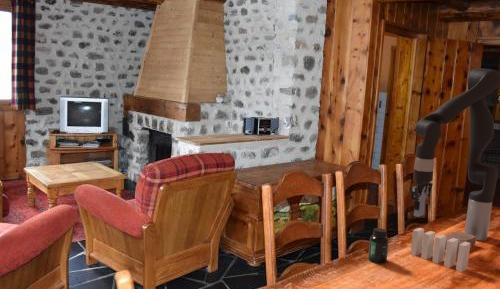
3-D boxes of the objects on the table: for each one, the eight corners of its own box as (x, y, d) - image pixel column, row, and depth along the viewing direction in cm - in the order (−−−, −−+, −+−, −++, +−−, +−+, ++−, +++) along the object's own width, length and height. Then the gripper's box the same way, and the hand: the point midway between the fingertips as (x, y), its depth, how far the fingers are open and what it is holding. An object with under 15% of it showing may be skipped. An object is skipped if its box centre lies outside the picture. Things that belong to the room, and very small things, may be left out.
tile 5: (449, 262, 172) (453, 237, 170) (455, 264, 170) (458, 239, 169) (443, 266, 169) (447, 240, 167) (449, 267, 167) (452, 242, 166)
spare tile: (419, 213, 191) (422, 190, 189) (424, 214, 189) (426, 191, 188) (413, 215, 187) (416, 192, 186) (418, 217, 186) (420, 193, 184)
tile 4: (438, 258, 175) (441, 234, 174) (443, 260, 174) (446, 235, 172) (432, 261, 172) (435, 236, 170) (437, 263, 170) (440, 238, 169)
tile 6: (461, 266, 169) (465, 241, 167) (467, 268, 167) (470, 243, 166) (455, 270, 165) (459, 244, 164) (461, 272, 164) (464, 246, 162)
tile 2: (416, 251, 182) (419, 227, 180) (421, 252, 180) (424, 229, 179) (410, 254, 178) (413, 230, 177) (415, 255, 177) (417, 231, 175)
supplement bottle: (371, 263, 167) (374, 233, 165) (365, 256, 174) (368, 226, 172) (389, 264, 168) (392, 233, 166) (382, 256, 175) (385, 227, 173)
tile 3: (427, 254, 178) (430, 230, 177) (432, 256, 177) (435, 232, 175) (421, 257, 175) (424, 233, 174) (426, 259, 174) (429, 234, 172)
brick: (453, 254, 181) (455, 243, 181) (435, 247, 188) (436, 236, 188) (475, 247, 191) (477, 236, 190) (457, 240, 198) (458, 230, 197)
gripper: (423, 165, 192) (419, 203, 195) (406, 169, 183) (402, 209, 186) (440, 168, 187) (436, 207, 190) (423, 172, 178) (419, 214, 180)
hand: (419, 208), depth 188 cm, fingers closed on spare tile, 5 cm apart
